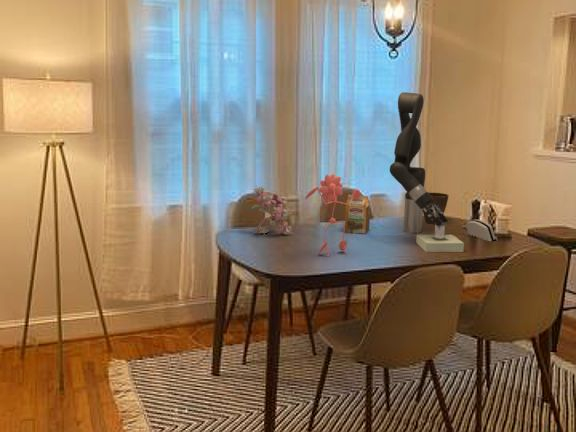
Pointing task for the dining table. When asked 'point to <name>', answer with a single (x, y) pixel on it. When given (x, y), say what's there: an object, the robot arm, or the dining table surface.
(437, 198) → the plant pot
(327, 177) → the pink blossom sprig
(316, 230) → the dining table surface
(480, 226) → the grey napkin holder
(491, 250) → the dining table surface
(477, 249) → the dining table surface
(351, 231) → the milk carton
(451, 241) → the hole plate
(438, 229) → the steel peg
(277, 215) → the flower
